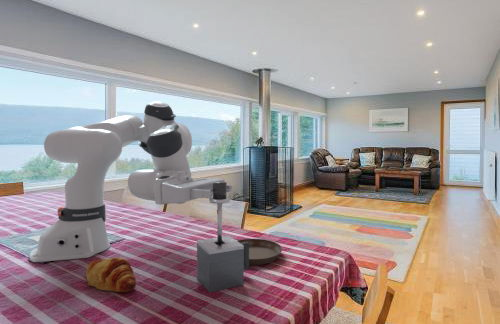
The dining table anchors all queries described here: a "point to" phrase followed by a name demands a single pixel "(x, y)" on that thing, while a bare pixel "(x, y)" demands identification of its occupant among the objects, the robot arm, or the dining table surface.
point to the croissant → (111, 275)
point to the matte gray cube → (221, 263)
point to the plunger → (219, 204)
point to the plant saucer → (262, 251)
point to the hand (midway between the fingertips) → (221, 191)
